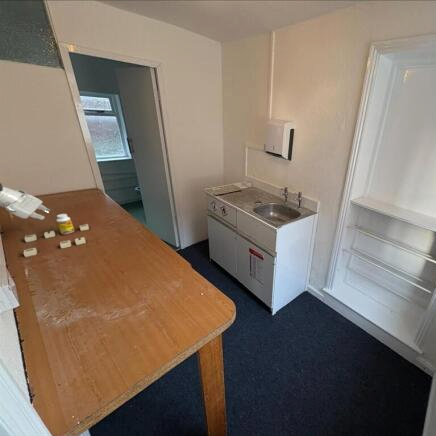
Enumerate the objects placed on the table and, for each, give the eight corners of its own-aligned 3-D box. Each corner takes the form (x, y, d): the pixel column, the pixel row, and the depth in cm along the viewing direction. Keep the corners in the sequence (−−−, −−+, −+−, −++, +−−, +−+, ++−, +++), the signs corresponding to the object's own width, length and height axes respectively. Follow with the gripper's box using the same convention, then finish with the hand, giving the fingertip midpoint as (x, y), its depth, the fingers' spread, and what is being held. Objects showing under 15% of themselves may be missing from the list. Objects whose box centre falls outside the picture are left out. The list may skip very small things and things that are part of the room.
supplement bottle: (63, 235, 123) (56, 217, 119) (59, 232, 126) (52, 215, 122) (76, 231, 128) (70, 214, 123) (72, 229, 130) (66, 212, 126)
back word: (25, 242, 115) (24, 239, 114) (26, 239, 119) (25, 235, 118) (89, 229, 131) (88, 226, 130) (88, 226, 134) (87, 223, 133)
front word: (25, 257, 104) (23, 252, 104) (26, 253, 107) (24, 249, 106) (85, 242, 118) (84, 239, 117) (85, 240, 120) (84, 236, 119)
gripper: (6, 201, 104) (45, 217, 112) (23, 189, 119) (56, 204, 128) (-4, 212, 103) (35, 227, 112) (14, 198, 119) (48, 213, 128)
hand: (46, 215), depth 120 cm, fingers open, 8 cm apart
